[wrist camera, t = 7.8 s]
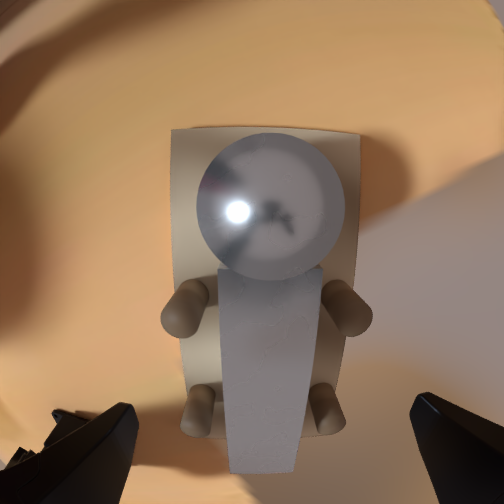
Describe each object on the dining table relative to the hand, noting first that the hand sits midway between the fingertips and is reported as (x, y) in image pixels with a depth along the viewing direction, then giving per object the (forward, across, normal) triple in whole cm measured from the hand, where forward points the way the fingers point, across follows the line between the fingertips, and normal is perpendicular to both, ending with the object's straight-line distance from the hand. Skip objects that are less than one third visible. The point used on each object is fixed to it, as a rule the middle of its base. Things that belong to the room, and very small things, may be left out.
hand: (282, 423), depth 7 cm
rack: (+8, 0, 0) cm, 8 cm away
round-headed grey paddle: (+7, 0, 0) cm, 7 cm away
